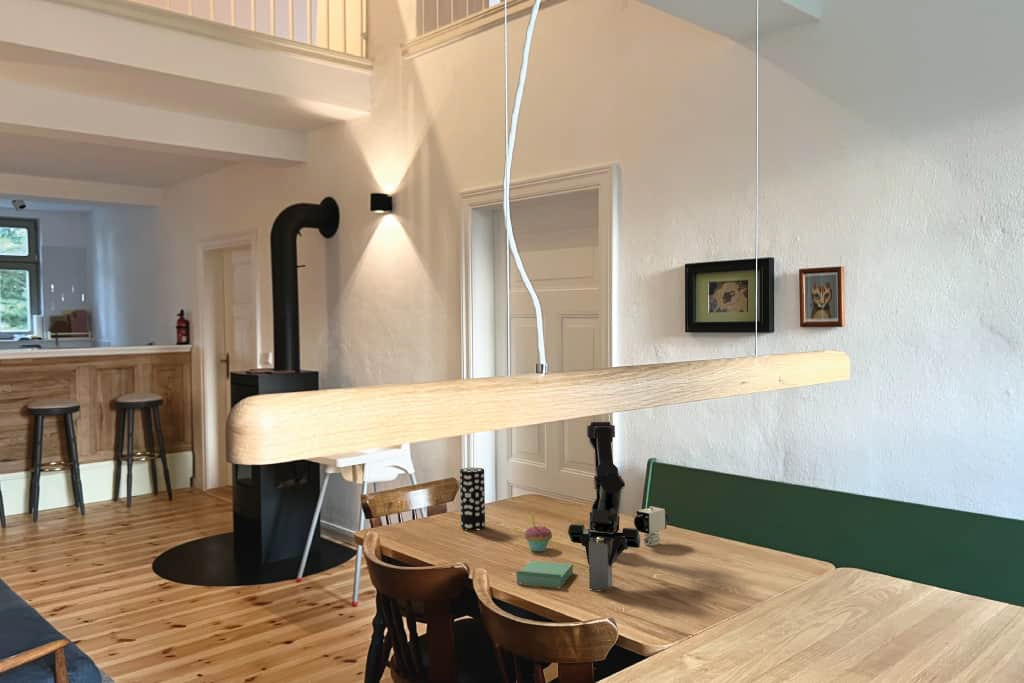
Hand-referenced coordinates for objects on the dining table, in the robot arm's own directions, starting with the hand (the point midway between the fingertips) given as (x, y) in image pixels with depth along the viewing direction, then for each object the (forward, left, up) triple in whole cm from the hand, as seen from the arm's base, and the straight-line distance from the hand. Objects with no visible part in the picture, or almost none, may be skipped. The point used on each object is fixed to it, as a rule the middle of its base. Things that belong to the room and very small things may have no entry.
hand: (599, 564), depth 201 cm
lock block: (-1, -1, -7) cm, 7 cm away
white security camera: (-43, -14, -7) cm, 46 cm away
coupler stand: (+3, -17, -7) cm, 18 cm away
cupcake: (-16, -37, -7) cm, 41 cm away
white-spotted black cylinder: (-20, -71, -7) cm, 74 cm away
